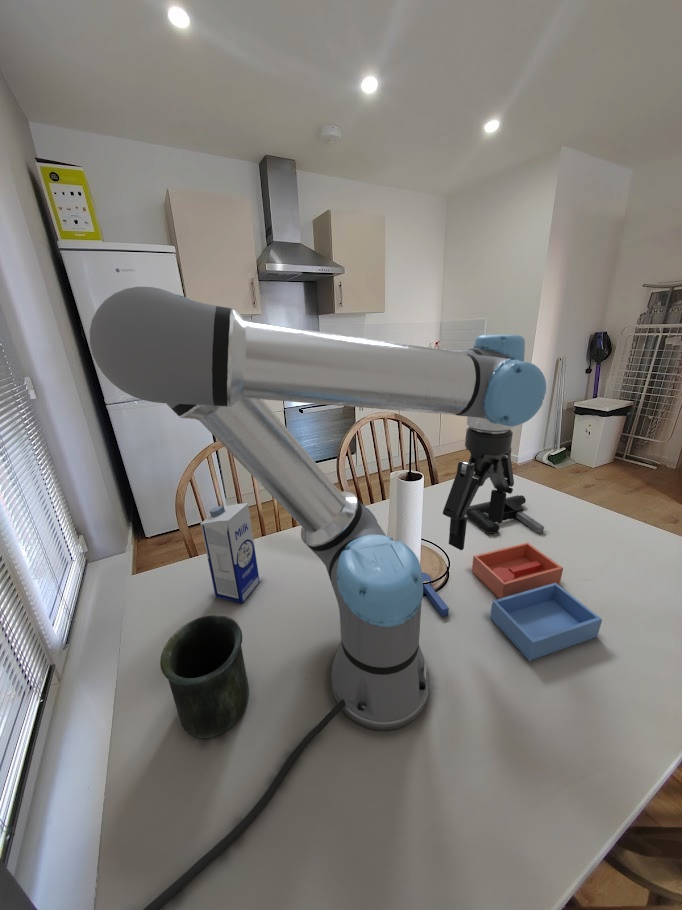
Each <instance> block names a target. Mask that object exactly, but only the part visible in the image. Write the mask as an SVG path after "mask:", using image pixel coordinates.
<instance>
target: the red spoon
mask: <svg viewBox="0 0 682 910" xmlns="http://www.w3.org/2000/svg"><path fill="white" fill-rule="evenodd" d="M541 568H542V564H541V563H540V562H538V561H535V562H531V563H527V564H523V565H520V566H516V567H512V568H509V570H508V569H506V568H502V567H497V568H494V569H493V570H492V571H493V572H494V573H495V574H496V575H497V576H499V577H500V578H501V579H502V580H503V581H504V582H507V581H510V580H514V578H515V577H519V576H522V575H526V574H530V573H533V572H537V571H541Z"/></svg>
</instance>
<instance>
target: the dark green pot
mask: <svg viewBox="0 0 682 910" xmlns="http://www.w3.org/2000/svg"><path fill="white" fill-rule="evenodd" d="M242 643H243V632H242V629H241V627H240V625H239V623H238V622H237V621H236V620H235V619H232V618H231V617H229V616H226V615H223V614H209V615H205V616H201V617H198V618H195V619H193V620H191V621H188V622H187V623H186V624H184V625H183V626H181V627H180V628H179V629H177V630H176V631H175V632H174V633H173V634H172V635H171V637H169V639H168V640H167V642H166V643H165V645H164V647H163V649H162V651H161V655H160V660H159V661H160V662H159V664H160V665H159V666H160V670H161V672H162V674H163V676H164V677H165V678H166V679H167V680H168V684H169V687H170V691H171V694H172V698H173V701H174V704H175V708H176V711H177V714H178V718H179V721H180V724H181V726H182V728H183V729H184V732H186V733H187V734H189V735H190V736H192V737H194V738H198V739H199V738H200V739H210V738H214V737H217V736H219V735H221V734H224V733H225V732H226V731H228V730H229V729H230V728H232V727H233V726H234V725H235V724H236V723H237V721H238V720H239V719H240V718H241V716H242V715H243V713H244V712H245V710H246V708H247V705H248V702H249V699H250V687H249V681H248V676H247V669H246V666H245V665H246V664H245V660H244V654H243V648H242V645H243V644H242Z"/></svg>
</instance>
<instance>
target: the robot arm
mask: <svg viewBox="0 0 682 910" xmlns="http://www.w3.org/2000/svg"><path fill="white" fill-rule="evenodd" d="M89 346H90V350H91V353H92V357H93V359H94V360H95V363H96V365H97V367H98V368H99V369H100V371H101V373H102V374H103V375H104V376H105V378H107V380H108V381H109V382H110V383H111V384H112V385H113V386H115V387H116V388H118V389H119V390H120V391H121V392H124V393H126V394H127V395H129V396H131V397H133V398H135V399H139V400H141V401H146V402H151V403H157V404H166V405H167V406H168V407H169V408H170V409H171V410H172V411H173V413H174V414H175V415H177V416H178V417H179V418H180V419H191V420H195V421H199V422H200V423H201V424H202V426H203V427H205V428H206V429H207V431H208V432H210V434H211V435H212V436H214V438H215V439H216V440H217V441H218V442H219V443H220V444H221V445H222V446H223V447H224V448H225V449H226V450H227V451H228V452H229V453H230V454H231V456H233V458H234V459H236V460H237V462H238V463H240V465H241V466H242V467H243V468H244V469H245V470H246V471H247V472H248V473H249V474H250V475H251V476H252V477H253V479H255V480H256V481H257V482H258V483H259V484H260V485H261V486H262V488H264V489H265V490H266V492H267V493H268V494H269V495H270V496H271V497H272V498H273V499H274V500H275V501H276V502H277V503H278V504H279V505H280V506H281V507H282V508H283V509H284V510H285V511H286V512H287V514H289V515H290V516H291V518H293V519H294V520H295V522H296V523H297V524H298V525H299V526H300V527H301V529H300V538H301V540H302V542H303V543H304V544H305V545H306V546H307V547H308V548H309V549H310V550H311V552H313V553H314V554H315V555H316V557H318V558H319V559H320V561H321V562H322V563H323V565H324V566H325V568H326V571H327V574H328V577H329V581H330V583H331V586H332V590H333V592H334V596H335V598H336V601H337V606H338V610H339V612H338V613H339V623H340V626H339V627H340V642H339V644H338V648H337V650H336V654H335V656H334V658H333V660H332V665H331V671H330V675H331V677H330V678H331V688H332V694H333V696H334V699H335V701H336V705H335V706H334V707H333V708H332V709H331V710H330V711H328V713H327V714H326V715H325V716H324V717H323V718H322V719H321V720H320V721H319V722H318V724H316V725H315V727H313V728H312V729H311V730H310V731H309V732H308V734H306V736H305V737H304V738H303V739H302V740H301V741H300V742H299V743H298V744H297V746H296V747H295V749H294V750H293V751H291V753H290V755H289V756H288V757H287V759H286V761H285V762H284V763H283V765H282V766H281V767H280V769H279V771H278V773H277V774H276V776H275V778H273V780H272V782H271V783H270V785H269V786H268V788H267V790H266V791H265V792H264V794H263V795H262V796H261V797H260V799H259V800H258V802H257V803H256V804H255V805H254V806H253V807H252V808H251V810H250V811H249V812H248V813H247V814H246V815H245V817H243V819H242V820H241V821H240V822H239V823H238V824H237V825H236V826H235V827H234V828H233V829H232V830H231V831H230V832H229V833H227V834H226V835H225V836H224V837H223V838H222V839H221V840H220V841H219V842H218V843H216V844H215V845H214V846H213V847H212V848H211V849H210V850H208V851H207V852H206V853H205V854H204V855H203V856H202V857H201V858H200V859H199V860H198V861H196V862H195V863H194V864H193V865H192V866H191V867H190V868H188V869H187V870H186V871H185V872H184V873H183V874H182V875H181V876H180V877H178V879H176V880H175V881H174V882H173V883H172V884H170V885H169V886H168V887H167V888H166V889H165V890H164V891H163V892H162V893H160V894H159V895H158V896H157V897H156V898H155V899H154V900H152V901H151V902H150V903H149V904H148V905H146V906H145V907H144V908H143V909H142V910H161V909H162V908H163V907H164V906H165V905H166V904H167V903H168V902H169V901H170V900H172V898H174V897H175V896H176V895H177V894H179V892H180V891H181V890H182V889H184V888H185V887H186V886H187V885H188V884H189V883H190V882H192V881H193V880H194V879H195V878H196V876H198V875H199V874H200V873H201V872H202V871H203V870H204V869H206V867H208V866H209V865H210V864H211V863H212V862H213V861H214V860H215V859H216V858H218V857H220V855H221V854H222V853H223V852H224V851H225V850H227V849H228V848H229V846H231V845H232V844H233V843H234V841H236V840H237V839H238V838H239V837H240V836H241V835H242V833H244V831H246V829H247V828H248V827H249V826H250V825H251V824H252V823H253V822H254V820H255V819H256V818H257V817H258V816H259V815H260V813H261V812H262V811H263V810H264V808H265V807H266V806H267V804H268V803H269V802H270V800H271V799H272V797H274V795H275V793H276V791H277V790H278V788H279V787H280V785H281V784H282V782H283V780H284V779H285V777H286V775H288V772H289V770H290V769H291V768H292V766H293V765H294V764H295V762H296V760H297V759H298V758H299V756H300V755H301V754H302V753H303V751H304V750H305V749H306V747H308V745H309V744H310V743H311V742H312V741H314V739H315V738H317V736H318V735H319V734H320V733H321V732H322V731H323V729H325V728H326V726H327V725H328V724H330V723H331V721H332V720H333V719H334V718H335V717H336V716H337V715H338V714H339V712H341V711H342V712H343V713H344V714H345V715H346V716H347V717H348V718H349V719H350V720H352V721H353V722H355V723H356V724H358V725H360V726H361V727H364V728H367V729H371V730H374V731H393V730H397V729H400V728H403V727H405V726H407V725H409V724H411V723H412V722H413V721H414V720H415V719H416V718H418V717H419V715H420V714H421V713H422V711H423V710H424V708H425V706H426V704H427V700H428V697H429V692H430V674H429V669H428V664H427V661H426V659H425V658H424V655H423V652H422V650H421V647H420V634H421V633H420V632H421V617H422V615H421V614H422V601H423V597H424V591H423V580H422V567H421V563H420V560H419V558H418V556H417V555H416V553H415V552H414V550H412V549H411V547H410V546H408V545H407V544H406V543H405V542H403V541H401V540H394V539H393V537H392V536H389V535H387V534H386V533H385V531H384V530H383V528H382V527H381V525H380V524H379V522H378V520H377V517H376V516H375V515H374V513H373V512H372V511H371V510H370V509H369V508H368V507H366V506H365V505H364V504H363V503H362V502H361V500H359V499H358V498H357V496H356V495H355V494H354V493H352V492H350V491H346V490H344V491H340V490H339V488H337V486H336V485H335V484H334V483H333V481H332V480H331V479H330V478H329V477H328V476H327V474H326V473H325V472H324V471H323V470H322V468H321V467H320V466H319V465H318V464H317V462H316V461H315V460H314V459H313V458H312V457H311V455H310V454H309V453H308V452H307V450H305V448H304V447H303V446H302V445H301V443H300V442H299V441H298V440H297V439H296V437H295V436H294V435H293V434H292V433H291V431H290V430H289V429H288V428H287V427H286V425H285V424H284V423H283V422H282V421H281V420H280V418H279V417H278V416H277V415H276V414H275V413H274V411H273V410H272V409H271V407H270V406H269V405H268V404H267V403H266V402H265V401H266V400H267V401H277V402H290V403H301V404H302V403H303V404H314V405H315V404H316V405H325V406H326V405H328V406H329V405H330V406H338V407H339V406H341V407H353V408H366V409H377V410H387V411H388V410H389V411H403V412H413V413H414V412H415V413H427V414H439V415H440V414H441V415H451V416H458V417H467V418H466V425H467V426H468V427H467V428H466V431H465V440H464V446H465V448H466V449H467V450H468V451H469V452H470V456H469V459H468V461H463V460H459V461H458V463H457V468H456V474H455V477H454V480H453V482H452V485H451V488H450V490H449V493H448V496H447V499H446V502H445V505H444V507H443V510H442V515H443V516H446V517H448V518H450V519H449V520H450V521H449V535H448V545H450V546H452V547H454V548H456V549H457V550H459V551H463V550H464V549H465V540H466V532H467V524H468V523H467V522H468V516H466V512H467V510H468V508H469V506H471V504H472V502H473V500H474V499H475V496H476V494H477V492H478V490H479V488H480V487H483V486H484V484H485V482H486V481H487V480H488V479H489V480H490V482H491V484H492V486H493V488H494V489H492V490H491V493H490V499H489V502H490V507H489V513H487V514H488V516H487V517H488V519H490V520H492V521H495V523H496V524H499V525H500V524H502V523H503V521H504V520H503V514H504V513H505V512H504V507H505V501H506V498H507V494H509V495H511V494H513V491H514V488H512V487H513V486H514V485H515V479H514V472H513V464H512V442H513V435H514V433H513V431H512V429H513V428H514V427H516V426H517V427H518V426H520V425H523V424H525V423H527V422H529V421H530V420H531V419H532V418H533V417H534V416H536V414H537V413H538V412H539V411H540V409H541V408H542V406H543V403H544V401H545V396H546V394H547V381H546V377H545V375H544V373H543V371H542V370H541V369H540V368H539V367H538V366H537V365H536V364H534V363H531V362H528V361H525V352H526V341H525V338H524V337H523V336H522V335H521V334H507V333H506V334H505V333H504V334H502V333H501V334H500V333H499V334H481V335H478V336H477V337H476V338H475V341H474V345H473V348H469V349H468V348H467V349H459V350H458V349H456V350H455V349H454V350H449V349H440V348H434V347H427V346H422V345H421V346H420V345H414V344H407V343H401V342H400V343H399V342H393V341H387V340H380V339H372V338H365V337H359V336H351V335H345V334H337V333H329V332H323V331H316V330H309V329H303V328H295V327H288V326H282V325H274V324H267V323H261V322H254V321H247V320H245V318H243V316H242V315H241V314H240V313H239V312H238V310H237V309H236V308H233V307H226V306H220V305H219V306H218V305H214V304H209V303H204V302H201V301H197V300H193V299H191V298H189V297H186V296H183V295H180V294H176V293H173V292H171V291H169V290H165V289H162V288H159V287H153V286H134V287H127V288H123V289H122V290H119V291H117V292H114V293H113V294H112V295H110V296H109V297H107V298H106V299H105V300H104V301H103V302H102V303H101V304H100V305H99V307H98V308H97V309H96V311H95V313H94V315H93V317H92V319H91V323H90V327H89Z"/></svg>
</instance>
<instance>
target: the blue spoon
mask: <svg viewBox="0 0 682 910" xmlns="http://www.w3.org/2000/svg"><path fill="white" fill-rule="evenodd" d="M422 580H423V582H424V581H431V583H430V584H429V583H428V584H424V585H423V594H425V595H426V597H427V598H428V599H429V601H430V602H431V604H432V605H433V606H434V608H435V609H436V610H437V612H438V613H439V614H440V616H441V617H445V616H448V615H449V612H450V611H449V610H450V608H449V607H448V605H447V604H446V603H445V601H444V600H443V598H441V596H440V595H439V594H438V592H436V590H435V589H434V588H433V586H432V578H431V576H430V575H429V574H428V573H425V572H422Z"/></svg>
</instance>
